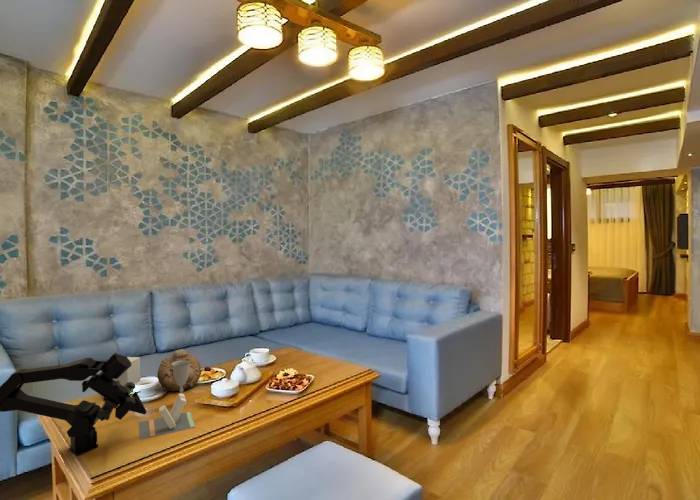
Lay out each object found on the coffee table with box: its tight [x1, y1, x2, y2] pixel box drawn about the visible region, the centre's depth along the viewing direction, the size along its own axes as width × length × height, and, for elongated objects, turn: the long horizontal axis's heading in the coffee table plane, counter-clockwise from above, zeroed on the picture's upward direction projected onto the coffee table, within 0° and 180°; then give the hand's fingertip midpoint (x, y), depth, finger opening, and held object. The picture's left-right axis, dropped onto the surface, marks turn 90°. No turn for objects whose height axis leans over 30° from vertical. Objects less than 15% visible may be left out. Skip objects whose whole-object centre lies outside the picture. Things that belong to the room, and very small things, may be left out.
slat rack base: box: [138, 393, 196, 441], centre depth 146 cm, size 18×14×10 cm
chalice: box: [172, 360, 190, 405], centre depth 163 cm, size 7×7×18 cm
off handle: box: [158, 404, 176, 429], centre depth 143 cm, size 2×3×8 cm, turn 27°
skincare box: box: [114, 356, 141, 393], centre depth 175 cm, size 8×7×16 cm
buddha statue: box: [157, 348, 202, 393], centre depth 184 cm, size 20×17×17 cm
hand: (145, 412), depth 139 cm, fingers closed
